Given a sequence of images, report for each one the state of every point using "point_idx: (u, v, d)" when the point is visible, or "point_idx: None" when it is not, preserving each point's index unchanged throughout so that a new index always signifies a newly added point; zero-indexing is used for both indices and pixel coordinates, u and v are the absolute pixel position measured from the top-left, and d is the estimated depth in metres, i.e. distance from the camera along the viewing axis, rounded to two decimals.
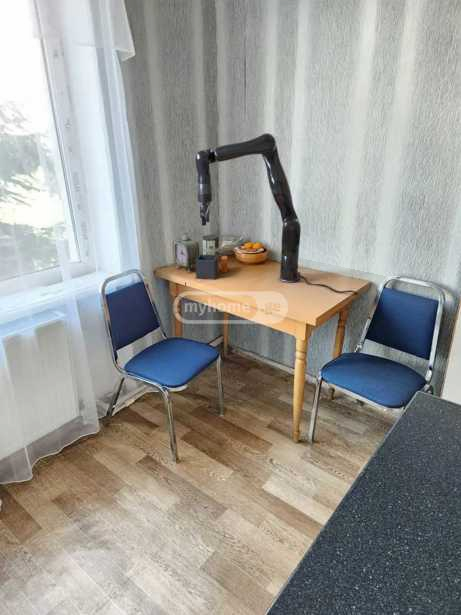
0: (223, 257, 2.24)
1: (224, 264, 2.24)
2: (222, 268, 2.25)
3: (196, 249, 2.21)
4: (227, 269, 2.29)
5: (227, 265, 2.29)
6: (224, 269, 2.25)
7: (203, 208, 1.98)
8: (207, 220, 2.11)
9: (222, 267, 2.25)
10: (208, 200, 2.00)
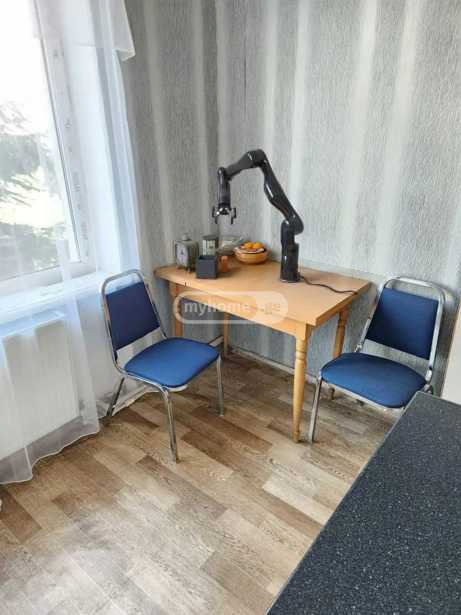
0: (223, 257, 2.24)
1: (224, 264, 2.24)
2: (222, 268, 2.25)
3: (196, 249, 2.21)
4: (227, 269, 2.29)
5: (227, 265, 2.29)
6: (224, 269, 2.25)
7: None
8: None
9: (222, 267, 2.25)
10: (219, 202, 2.27)
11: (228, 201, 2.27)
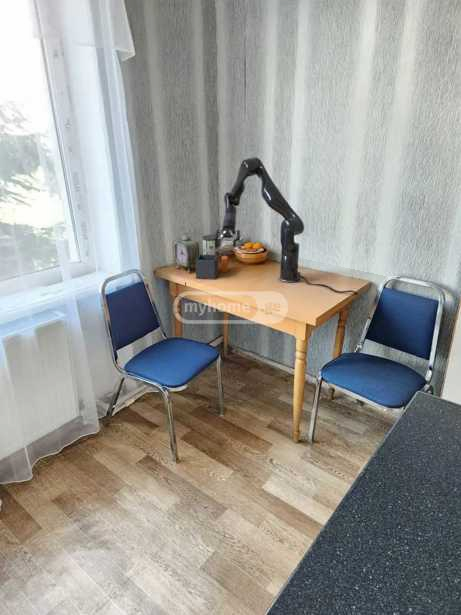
0: (223, 257, 2.24)
1: (224, 264, 2.24)
2: (222, 268, 2.25)
3: (196, 249, 2.21)
4: (227, 269, 2.29)
5: (227, 265, 2.29)
6: (224, 269, 2.25)
7: None
8: (233, 244, 2.30)
9: (222, 267, 2.25)
10: (223, 225, 2.33)
11: (232, 224, 2.32)
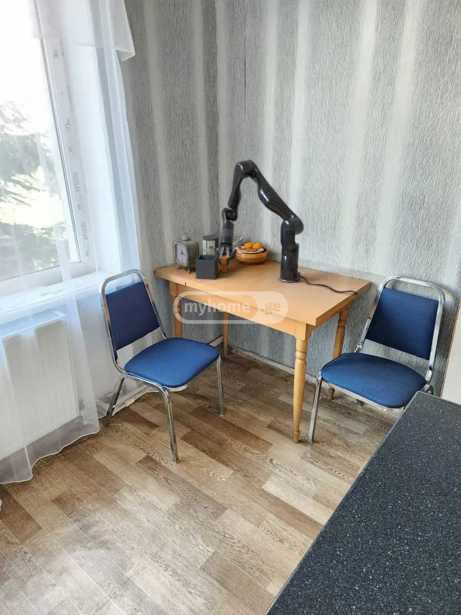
0: (223, 257, 2.24)
1: (224, 264, 2.24)
2: (222, 268, 2.25)
3: (196, 249, 2.21)
4: (227, 269, 2.29)
5: None
6: (224, 269, 2.25)
7: (214, 250, 2.28)
8: (226, 263, 2.24)
9: (222, 267, 2.25)
10: (220, 241, 2.27)
11: (229, 241, 2.26)
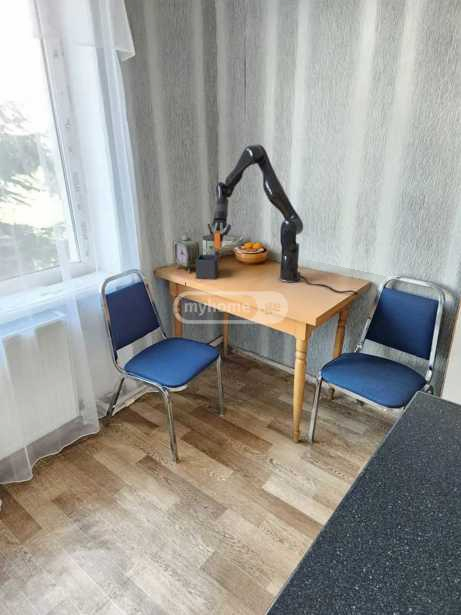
0: (217, 233, 2.16)
1: (218, 240, 2.15)
2: (216, 244, 2.16)
3: (196, 249, 2.21)
4: None
5: (221, 242, 2.20)
6: (217, 245, 2.16)
7: (208, 226, 2.19)
8: (220, 239, 2.16)
9: (216, 243, 2.16)
10: (214, 217, 2.18)
11: (223, 216, 2.17)
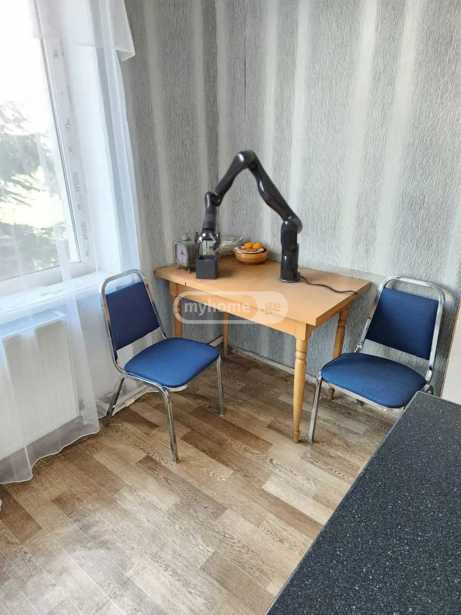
0: None
1: None
2: None
3: (196, 249, 2.21)
4: None
5: None
6: None
7: None
8: (213, 248, 2.12)
9: None
10: (203, 227, 2.15)
11: (212, 226, 2.14)
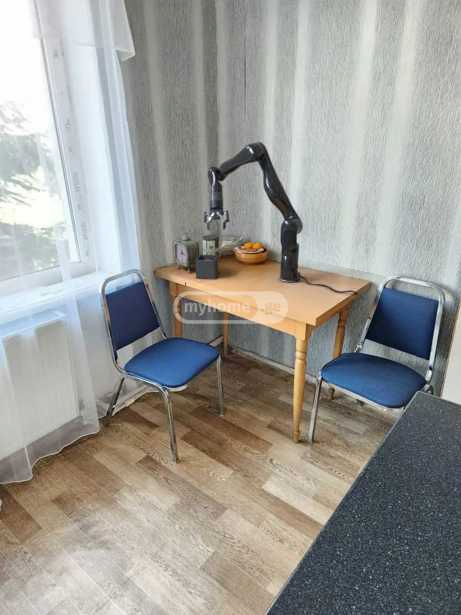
0: None
1: None
2: None
3: (196, 249, 2.21)
4: None
5: None
6: None
7: None
8: (223, 227, 2.19)
9: None
10: (210, 206, 2.19)
11: (219, 205, 2.18)
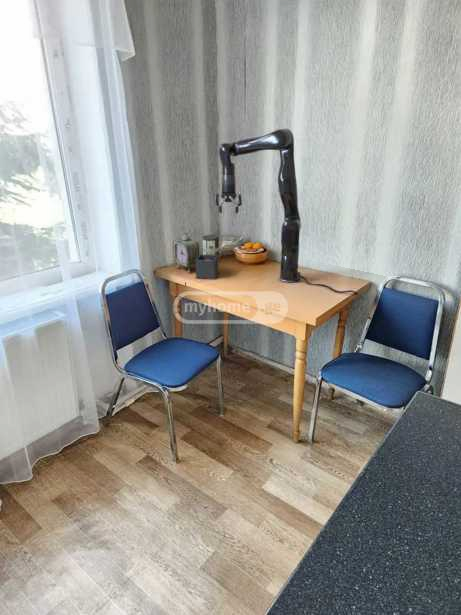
0: None
1: None
2: None
3: (196, 249, 2.21)
4: None
5: None
6: None
7: None
8: None
9: None
10: (222, 190, 2.12)
11: (231, 190, 2.11)
